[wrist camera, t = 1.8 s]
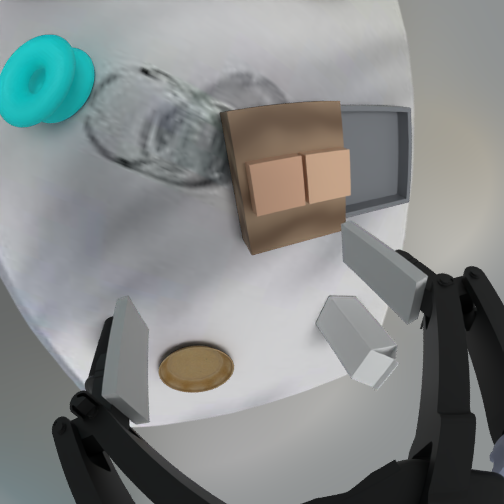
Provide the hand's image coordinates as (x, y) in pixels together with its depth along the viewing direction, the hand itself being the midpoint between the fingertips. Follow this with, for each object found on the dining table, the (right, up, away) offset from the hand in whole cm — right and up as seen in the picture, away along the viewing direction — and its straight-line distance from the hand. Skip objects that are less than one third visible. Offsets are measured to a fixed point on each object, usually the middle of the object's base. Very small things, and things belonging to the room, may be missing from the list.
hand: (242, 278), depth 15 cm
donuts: (-23, +22, +7) cm, 33 cm away
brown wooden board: (+5, +13, +20) cm, 25 cm away
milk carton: (+17, -10, +37) cm, 43 cm away
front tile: (+3, +10, +16) cm, 19 cm away
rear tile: (+9, +11, +17) cm, 22 cm away
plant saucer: (-11, -20, +34) cm, 41 cm away
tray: (+19, +17, +23) cm, 34 cm away
